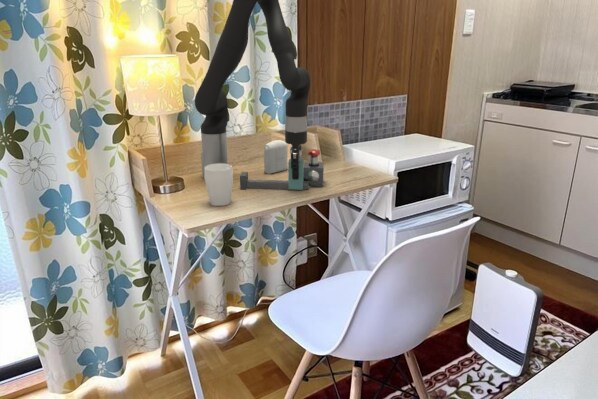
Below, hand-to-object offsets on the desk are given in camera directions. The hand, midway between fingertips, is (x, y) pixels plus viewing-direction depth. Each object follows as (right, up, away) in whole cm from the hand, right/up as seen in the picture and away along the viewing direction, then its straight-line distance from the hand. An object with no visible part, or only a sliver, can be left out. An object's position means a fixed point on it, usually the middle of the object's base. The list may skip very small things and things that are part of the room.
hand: (296, 176), depth 162 cm
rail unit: (-5, -3, +6) cm, 8 cm away
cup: (-24, -9, -12) cm, 29 cm away
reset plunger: (+6, +3, +5) cm, 9 cm away
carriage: (0, -4, +2) cm, 4 cm away
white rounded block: (-8, +3, +22) cm, 24 cm away
